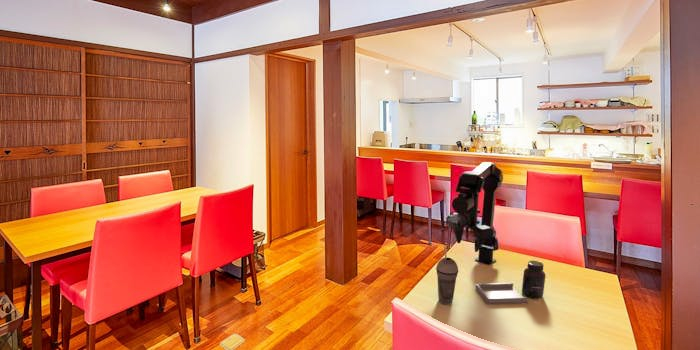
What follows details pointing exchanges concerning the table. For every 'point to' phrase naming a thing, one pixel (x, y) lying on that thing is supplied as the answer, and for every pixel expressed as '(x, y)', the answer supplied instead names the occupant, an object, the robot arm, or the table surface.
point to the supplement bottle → (533, 280)
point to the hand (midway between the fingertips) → (467, 247)
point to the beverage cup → (446, 279)
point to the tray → (500, 293)
